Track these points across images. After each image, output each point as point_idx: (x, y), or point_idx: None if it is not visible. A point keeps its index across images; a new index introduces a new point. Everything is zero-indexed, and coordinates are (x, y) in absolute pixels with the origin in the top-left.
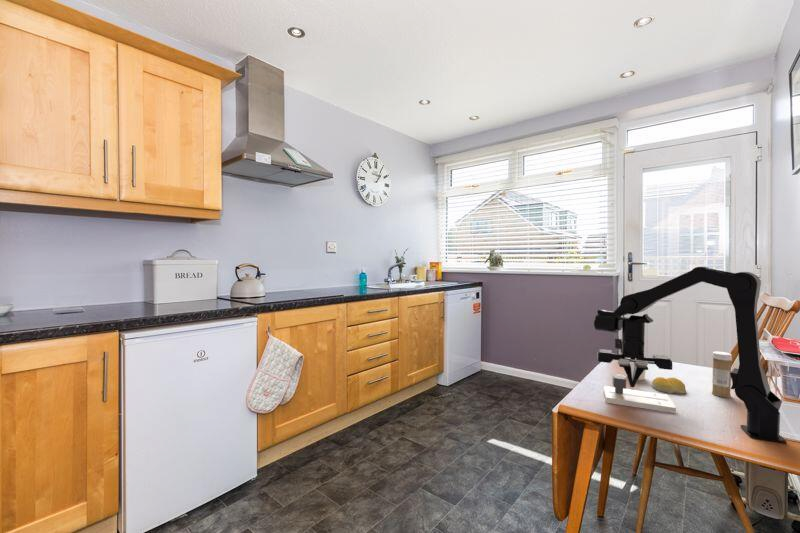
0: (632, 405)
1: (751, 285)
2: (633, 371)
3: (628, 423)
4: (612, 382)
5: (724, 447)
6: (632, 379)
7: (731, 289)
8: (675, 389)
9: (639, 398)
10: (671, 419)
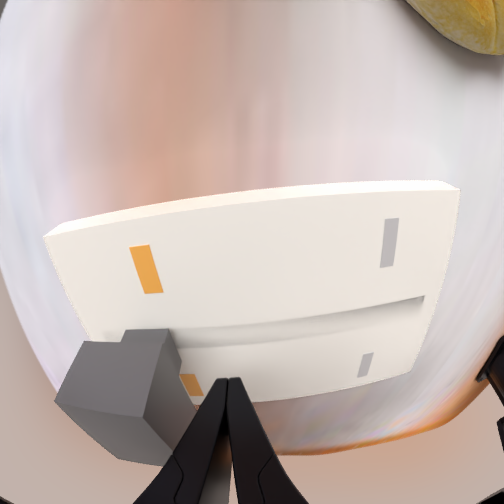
0: None
1: None
2: (237, 496)
3: None
4: (85, 347)
5: (398, 437)
6: (230, 432)
7: None
8: (494, 48)
9: (275, 361)
10: (359, 403)
